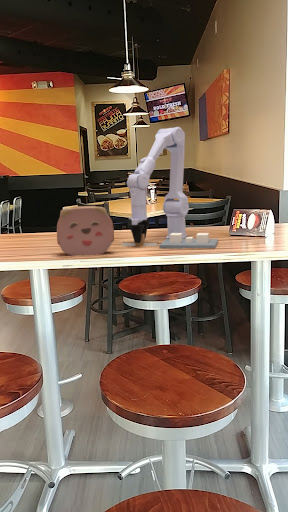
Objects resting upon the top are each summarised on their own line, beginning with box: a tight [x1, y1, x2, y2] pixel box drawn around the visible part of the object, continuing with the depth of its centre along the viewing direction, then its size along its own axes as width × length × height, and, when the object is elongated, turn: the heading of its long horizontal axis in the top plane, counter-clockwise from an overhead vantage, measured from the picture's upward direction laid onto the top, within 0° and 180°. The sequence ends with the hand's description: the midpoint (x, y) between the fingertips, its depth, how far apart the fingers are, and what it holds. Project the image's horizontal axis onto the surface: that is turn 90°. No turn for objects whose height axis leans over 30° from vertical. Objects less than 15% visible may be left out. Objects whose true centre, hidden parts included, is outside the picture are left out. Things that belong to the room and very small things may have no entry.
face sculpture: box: [56, 205, 115, 257], centre depth 155 cm, size 20×7×17 cm, turn 94°
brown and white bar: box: [121, 234, 159, 247], centre depth 169 cm, size 3×14×4 cm, turn 76°
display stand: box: [158, 232, 219, 249], centre depth 165 cm, size 14×20×4 cm
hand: (140, 241), depth 169 cm, fingers open, 7 cm apart
